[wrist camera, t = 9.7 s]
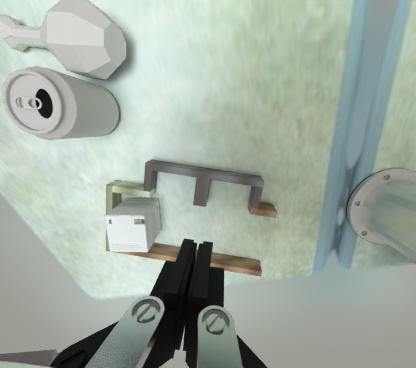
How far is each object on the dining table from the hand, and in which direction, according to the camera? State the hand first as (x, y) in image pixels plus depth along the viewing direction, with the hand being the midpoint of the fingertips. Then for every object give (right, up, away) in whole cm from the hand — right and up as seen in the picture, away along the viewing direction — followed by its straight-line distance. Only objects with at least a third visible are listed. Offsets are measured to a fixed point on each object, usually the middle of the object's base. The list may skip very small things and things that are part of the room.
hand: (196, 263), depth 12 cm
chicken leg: (-19, +25, +19) cm, 36 cm away
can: (-17, +16, +21) cm, 31 cm away
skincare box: (-11, -1, +25) cm, 27 cm away
